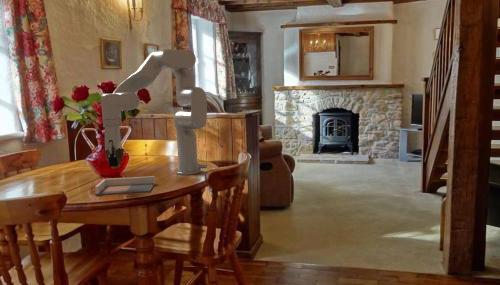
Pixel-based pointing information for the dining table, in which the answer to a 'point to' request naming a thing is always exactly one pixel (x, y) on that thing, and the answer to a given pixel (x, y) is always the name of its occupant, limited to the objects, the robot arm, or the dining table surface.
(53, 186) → the dining table surface
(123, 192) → the mat
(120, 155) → the cup
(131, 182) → the corner walls
